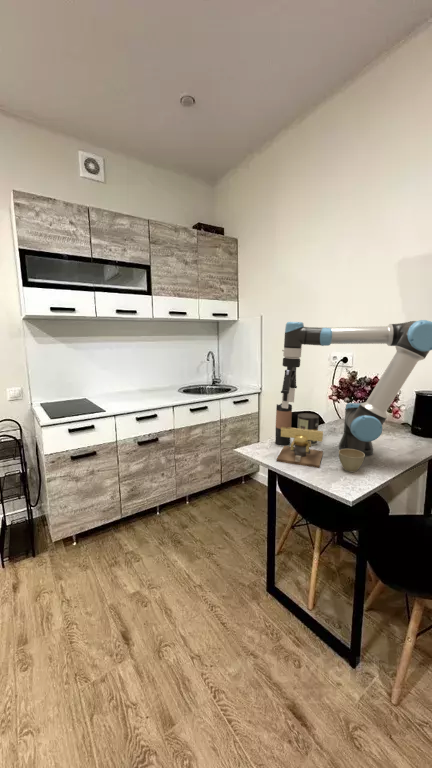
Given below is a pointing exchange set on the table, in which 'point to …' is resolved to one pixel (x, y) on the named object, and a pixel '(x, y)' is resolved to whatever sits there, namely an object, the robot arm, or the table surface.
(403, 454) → the table surface
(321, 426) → the table surface
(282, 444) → the travel mug
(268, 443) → the table surface
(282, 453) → the base
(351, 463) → the flower pot
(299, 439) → the coupling
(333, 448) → the table surface
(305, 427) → the coffee can
